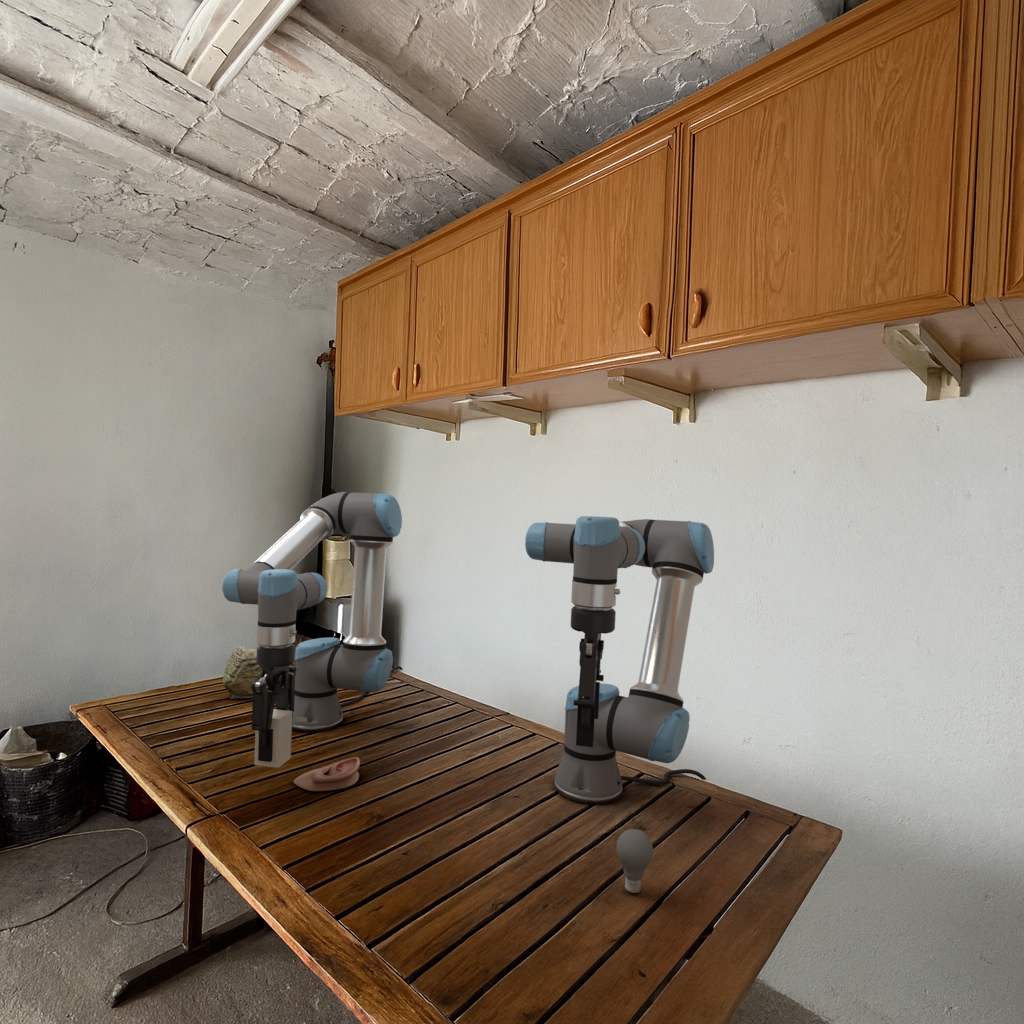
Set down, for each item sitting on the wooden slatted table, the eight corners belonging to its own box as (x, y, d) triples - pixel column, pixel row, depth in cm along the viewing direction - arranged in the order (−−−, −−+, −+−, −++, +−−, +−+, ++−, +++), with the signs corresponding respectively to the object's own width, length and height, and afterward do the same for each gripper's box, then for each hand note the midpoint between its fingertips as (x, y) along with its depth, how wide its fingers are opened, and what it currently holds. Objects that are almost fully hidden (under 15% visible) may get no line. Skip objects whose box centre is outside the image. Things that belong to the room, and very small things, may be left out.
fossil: (218, 695, 195) (220, 647, 195) (278, 685, 208) (279, 640, 207) (228, 703, 189) (230, 653, 188) (289, 692, 201) (290, 645, 201)
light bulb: (610, 879, 108) (613, 822, 108) (644, 879, 109) (647, 822, 109) (619, 902, 102) (622, 840, 102) (655, 901, 103) (658, 840, 103)
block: (254, 765, 130) (255, 716, 130) (267, 755, 135) (269, 708, 135) (278, 768, 129) (279, 719, 129) (290, 758, 134) (292, 710, 134)
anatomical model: (286, 769, 137) (313, 749, 148) (285, 787, 137) (312, 766, 148) (343, 777, 134) (366, 756, 145) (342, 796, 134) (365, 773, 145)
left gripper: (268, 656, 122) (265, 775, 123) (313, 636, 140) (310, 740, 140) (233, 653, 123) (229, 771, 124) (282, 633, 141) (279, 737, 142)
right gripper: (613, 621, 95) (606, 762, 95) (617, 598, 119) (612, 709, 120) (563, 617, 96) (557, 756, 97) (578, 595, 121) (572, 705, 121)
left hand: (272, 754), depth 132 cm, fingers closed on block, 5 cm apart
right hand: (587, 731), depth 108 cm, fingers open, 13 cm apart
